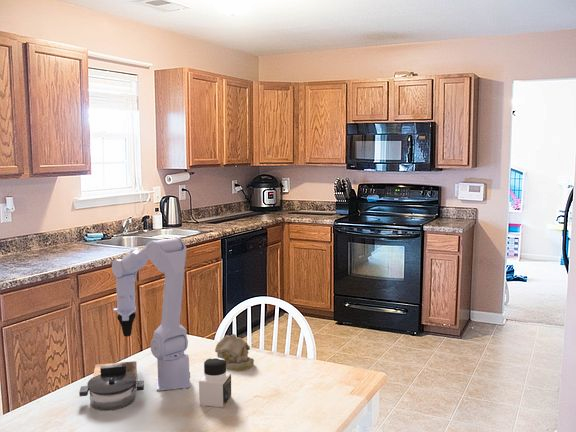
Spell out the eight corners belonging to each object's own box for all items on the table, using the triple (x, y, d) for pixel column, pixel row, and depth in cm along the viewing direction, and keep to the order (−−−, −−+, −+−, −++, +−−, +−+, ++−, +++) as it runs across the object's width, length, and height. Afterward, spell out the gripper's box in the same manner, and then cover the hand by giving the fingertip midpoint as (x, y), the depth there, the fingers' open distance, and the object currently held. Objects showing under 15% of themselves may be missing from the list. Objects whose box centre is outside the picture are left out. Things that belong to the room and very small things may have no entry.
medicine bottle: (223, 408, 151) (223, 365, 149) (199, 405, 152) (198, 363, 151) (231, 396, 158) (231, 356, 156) (207, 394, 159) (207, 354, 158)
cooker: (145, 374, 173) (144, 360, 172) (143, 406, 151) (143, 391, 151) (87, 379, 169) (87, 365, 168) (78, 413, 147) (77, 397, 147)
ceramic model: (206, 364, 181) (206, 335, 180) (228, 354, 190) (227, 326, 189) (240, 374, 173) (240, 343, 172) (261, 362, 183) (261, 333, 182)
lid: (137, 372, 162) (136, 363, 162) (135, 391, 150) (135, 381, 149) (90, 377, 159) (89, 367, 159) (84, 396, 147) (84, 385, 146)
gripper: (114, 290, 185) (116, 329, 187) (111, 301, 171) (113, 344, 173) (136, 289, 187) (137, 327, 188) (134, 300, 173) (136, 342, 174)
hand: (127, 335), depth 181 cm, fingers closed
